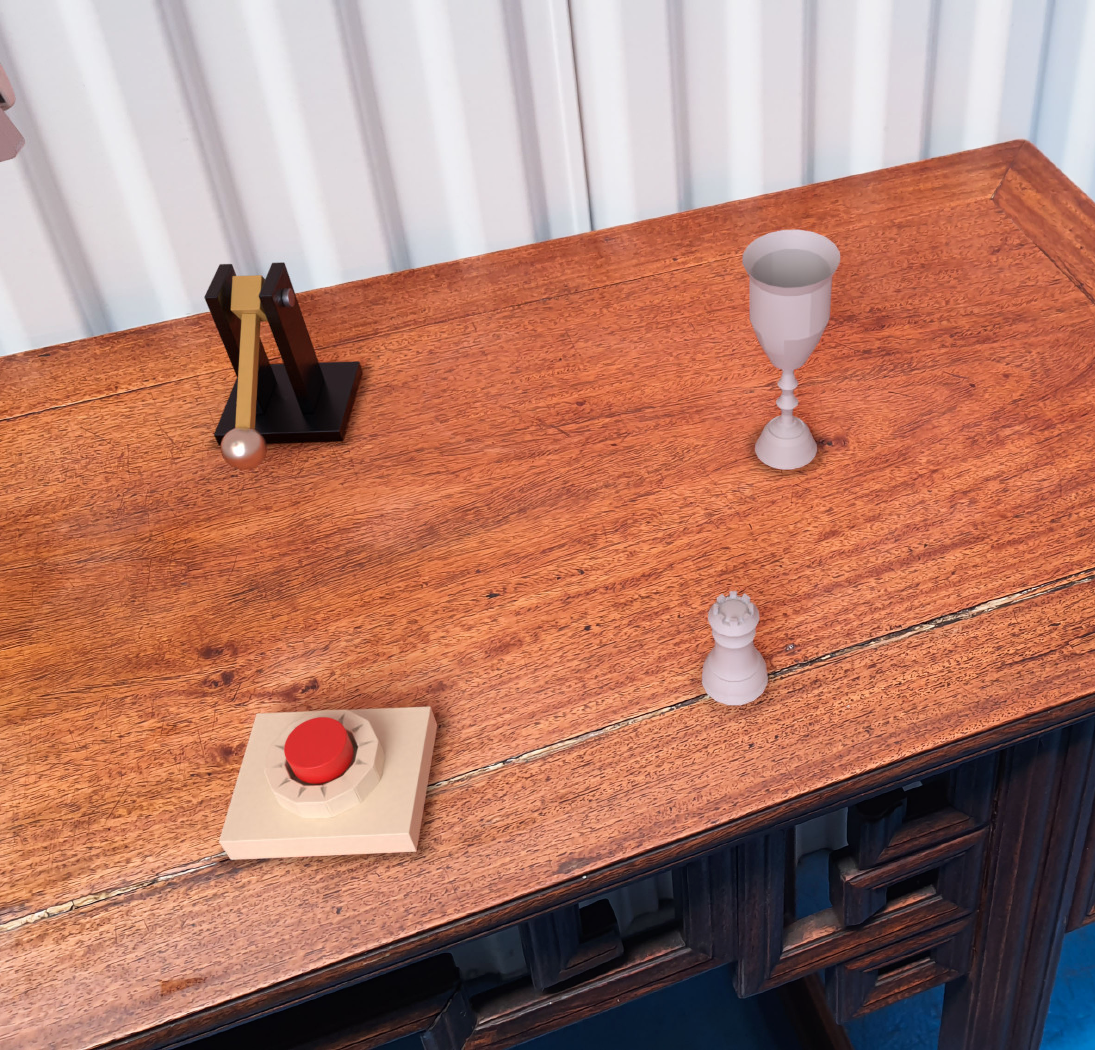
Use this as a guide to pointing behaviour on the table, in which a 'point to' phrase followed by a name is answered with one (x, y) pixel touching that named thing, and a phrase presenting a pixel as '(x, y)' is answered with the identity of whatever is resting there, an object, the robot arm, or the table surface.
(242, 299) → the switch lever
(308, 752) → the red button
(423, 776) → the control box
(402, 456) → the table surface
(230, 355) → the switch bracket
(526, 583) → the table surface
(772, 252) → the chalice
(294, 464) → the table surface
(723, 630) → the rook chess piece
